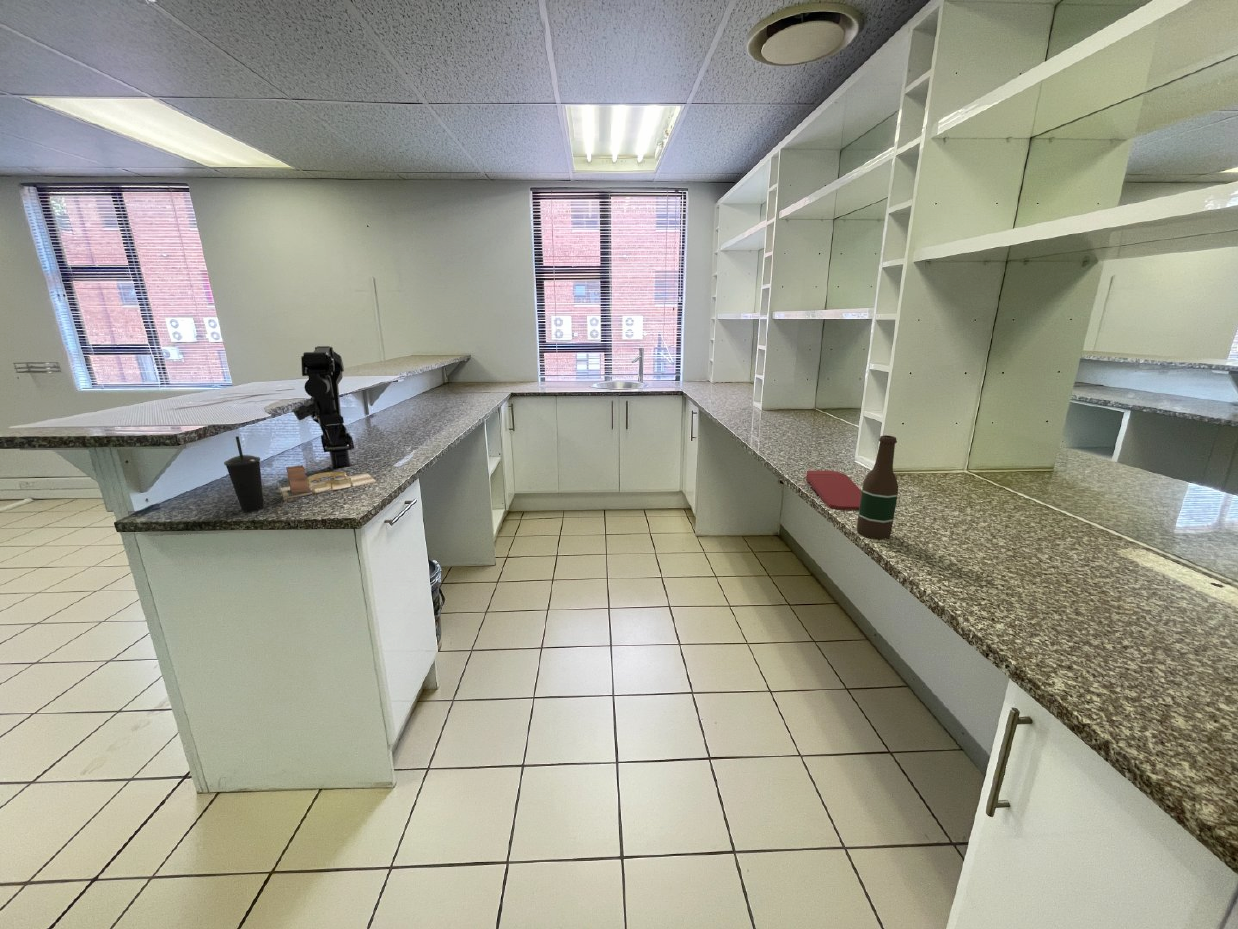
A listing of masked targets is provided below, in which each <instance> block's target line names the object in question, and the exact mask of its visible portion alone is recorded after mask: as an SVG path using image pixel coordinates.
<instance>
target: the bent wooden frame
mask: <svg viewBox="0 0 1238 929" xmlns="http://www.w3.org/2000/svg"><path fill="white" fill-rule="evenodd" d="M331 476H332V479H336V477H337V476H338V477H344V479H342V480H330V479H328V480H329V481H327V482H325V483H319V484H313V485H312V487H313V489H312V493H313V494H312V495H314V493H315V489H317V488H323V487H327V486H329V485H330V486H331V488H333V484H335V485H340V484H346V483H350V485H351V487H350V488H353V487H354V486H353V482H352V481H351V478H348V479H347V477H348V475H347V472H346V471H341V470H340V471H336V470H333V471H326V472H322V473H321V472H320V473H316V474H312V475H310V476H309V477H306V480H307V485H308V486H310V483H311V482H313V481H315V480H316V481H315V482H319V481H320V479H321V478H327V477H331ZM352 486H353V487H352ZM315 494H316V493H315Z"/></svg>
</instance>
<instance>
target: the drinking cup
mask: <svg viewBox="0 0 1238 929" xmlns="http://www.w3.org/2000/svg"><path fill="white" fill-rule="evenodd" d="M235 440H236V445H237V450H238V454H239V455H237V456H233V457H231V458H229V459H228V460H226V461H224V462H223V464H224V466H226V470H227V473H228V475H229V478H230V481H231V484H232V487H233V490H234V492H235V495H236V497H237V500H238V503H239V506H240V509H241V511H242V512H243V513H244V512H245V513H249V512H257V511H259V509H260V510H261V509H263V508H265V502H264V494H263V493H264V492H263V484H262V483H263V482H262V474H261V462H260V461H261V457H259V456H255V455H249V454H243V450H242V445H241V441H240V437H239V436H235Z"/></svg>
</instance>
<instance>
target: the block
mask: <svg viewBox="0 0 1238 929" xmlns="http://www.w3.org/2000/svg"><path fill="white" fill-rule="evenodd" d="M303 465H304V464H300V465H294V466H293V465H292V466H288V467H286V468H285V469H286V474H287V475H286V476H287V478H288V479H287V480H288V484H289V486H290V490H291V492H292V494H294V493H300V492H305V491H308V485H307V475H306V471H305V470H306V468H305V467H304V466H303Z"/></svg>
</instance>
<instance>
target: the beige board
mask: <svg viewBox="0 0 1238 929" xmlns="http://www.w3.org/2000/svg"><path fill="white" fill-rule="evenodd" d="M348 478H351V481H352V482H353V486H352V487H351V485H350V483H346V484H340V485H335V484H333V488H331V486H330V485H329V486H327V487H323V488H317V489H315V493H314V494H319V493H326V492H331V491H336V490H341V489H347V488H353V487H358V486H364V485H369V484H374V483H378V481H377V480H375V478H373V477H372V475H370V474H369V473H368V472H367V473H361V474H355V475H347V479H348ZM342 479H344V476H341V477H337V478H336V477H335V479H333V478H332V479H327V480H325V479H324V480H319V482H317V481H314V482H313V481H312V482H310V486H308V491H305V492H300V493H294V494H292V492H291V490H290V485H289V486H285V487H284V486H283V487H280V489H279V490H280V492H282V493H281V494H282V497H283V499H284V501H285V503H287V502H289V499H291V498H298V497H303V496H308V495H314V494H313V493H312V489H313V487H312V485H313V484H319V483H325V482H327V481H329V480H342Z"/></svg>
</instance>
